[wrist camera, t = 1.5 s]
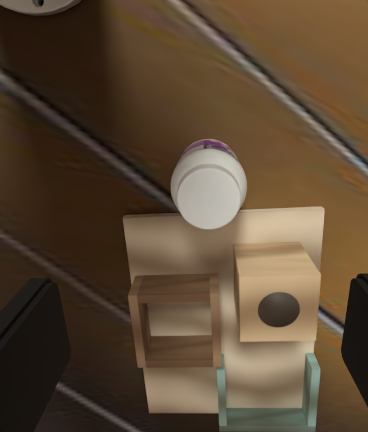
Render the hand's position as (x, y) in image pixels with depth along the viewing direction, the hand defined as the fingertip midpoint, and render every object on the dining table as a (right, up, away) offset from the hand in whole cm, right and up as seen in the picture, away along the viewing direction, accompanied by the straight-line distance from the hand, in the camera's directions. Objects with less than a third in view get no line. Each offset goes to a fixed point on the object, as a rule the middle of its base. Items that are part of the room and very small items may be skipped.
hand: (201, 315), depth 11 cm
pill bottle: (+2, +7, +19) cm, 21 cm away
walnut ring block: (-1, -6, +23) cm, 24 cm away
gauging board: (+4, -8, +24) cm, 26 cm away
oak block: (+7, -2, +21) cm, 22 cm away
